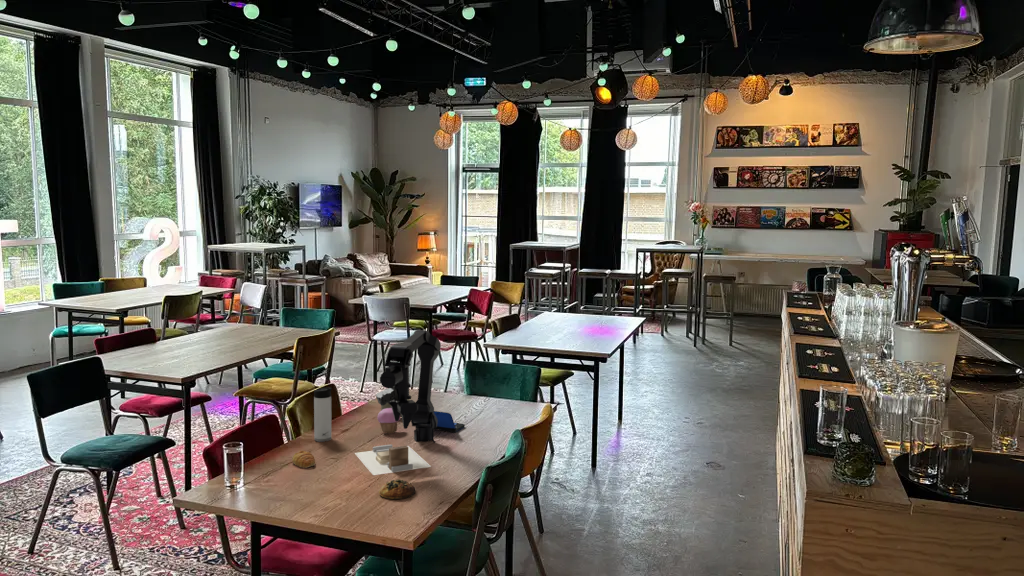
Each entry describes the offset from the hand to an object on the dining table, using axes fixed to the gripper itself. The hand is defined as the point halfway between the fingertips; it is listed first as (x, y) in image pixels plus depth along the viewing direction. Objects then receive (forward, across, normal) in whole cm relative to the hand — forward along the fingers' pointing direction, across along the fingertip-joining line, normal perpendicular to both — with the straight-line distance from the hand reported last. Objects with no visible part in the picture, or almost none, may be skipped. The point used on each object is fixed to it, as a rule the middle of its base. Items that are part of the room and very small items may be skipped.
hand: (401, 424), depth 245 cm
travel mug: (+13, -33, -20) cm, 41 cm away
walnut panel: (+11, +11, -5) cm, 16 cm away
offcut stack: (+11, +2, -4) cm, 12 cm away
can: (+14, -55, +16) cm, 59 cm away
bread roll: (+12, +29, -11) cm, 33 cm away
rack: (+12, +2, -4) cm, 13 cm away
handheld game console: (+14, -28, +26) cm, 41 cm away
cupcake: (+13, -31, +6) cm, 34 cm away
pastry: (+12, -10, -31) cm, 35 cm away
